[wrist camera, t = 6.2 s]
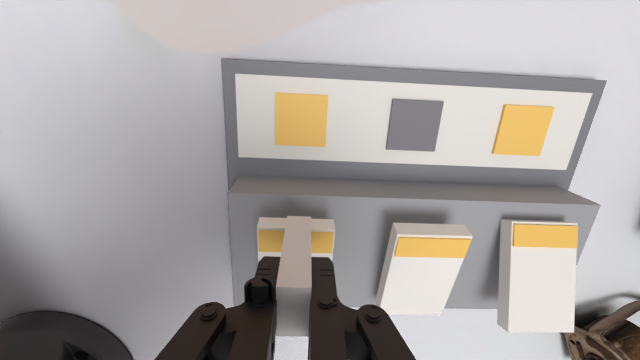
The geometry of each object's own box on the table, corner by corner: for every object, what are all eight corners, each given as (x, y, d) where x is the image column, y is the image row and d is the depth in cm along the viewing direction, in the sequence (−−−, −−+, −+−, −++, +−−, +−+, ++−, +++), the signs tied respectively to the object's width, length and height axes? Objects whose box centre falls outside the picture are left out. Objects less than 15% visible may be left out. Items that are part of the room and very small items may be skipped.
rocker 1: (262, 302, 23) (260, 317, 22) (259, 217, 20) (256, 229, 18) (326, 303, 23) (327, 318, 22) (333, 219, 20) (335, 230, 19)
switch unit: (235, 276, 29) (222, 315, 24) (224, 59, 23) (203, 54, 18) (526, 281, 31) (565, 318, 26) (595, 80, 24) (664, 81, 20)
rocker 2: (497, 324, 22) (509, 332, 21) (500, 219, 23) (513, 221, 21) (559, 324, 23) (576, 333, 21) (563, 220, 23) (579, 223, 21)
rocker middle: (375, 301, 24) (378, 316, 23) (393, 222, 20) (398, 235, 19) (435, 302, 24) (441, 317, 23) (464, 224, 20) (474, 237, 19)
